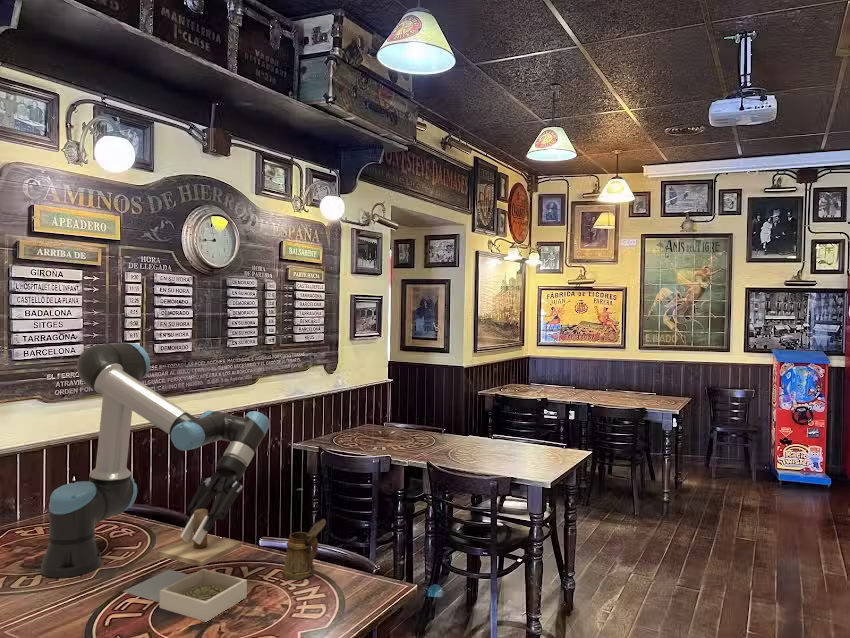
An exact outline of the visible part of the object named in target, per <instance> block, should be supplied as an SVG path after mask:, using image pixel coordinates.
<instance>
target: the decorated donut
mask: <svg viewBox="0 0 850 638" xmlns="http://www.w3.org/2000/svg"><path fill="white" fill-rule="evenodd" d="M223 591H225V590H224V589H223V588H222V587H220V586H218V585H202V586H197V587H193V588H191V589H188V590H187V591H186V592H184V593H183V595H185V596H188V597H192V598H196V599H199V600H203V601H207V600H209V599H211V598H212V597H214V596H216V595H218V594H219V593H221V592H223Z"/></svg>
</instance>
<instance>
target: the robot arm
mask: <svg viewBox="0 0 850 638" xmlns="http://www.w3.org/2000/svg"><path fill="white" fill-rule="evenodd" d="M76 369H77V370H76V371H77V373H78V376H79V377H80V378H79V379H81V381H82V382H83V383H84V384H85V385H86V386H87V387H89V388H90V389H91V390H93V391H94V392H96V393H98V394H102V402H101V411H100V412H101V414H100V422H99V430H98V431H99V433H98V441H97V450H96V451H97V452H96V461H95V468H94V469H92V470H91V471H90V472H89V478H88V481H86V480H85V481H84V480H83V481H75V482H74V483H73V482H69V483H67V484H64V485H61V486H59V487H57V488H56V489H54V490H53V491H52V493H51V494H50V497H49V505H48V545H47V547H46V550H45V553H44V555H43V559H42V561H41V562H40V563H41V565H40V573H41V574H42V576H44V577H46V578H47V577H48V578H55V579H59V578H60V579H63V578H72V577H76V576H81V575H85V574H88V573H90V572H92V571H94V570H96V569H97V568H99V567H100V565H101V563H102V555H101V554H102V553H101V552H100V549H99V546H98V543H97V541H96V534H95V533H96V532H95V531H96V524H97V523H99V522H102V521H104V520H106V519H109V518H111V517H113V516H118V515H120V514H122V513H123V512H125V511H127V510H129V508H131V507H132V506H133V505H134V503H135V501H136V498H137V494H138V486H137V483H136V482H135V479H134V478H133V477H132V472H131V471H130V470H129V469H128V467H127V466H128V456H129V455H128V454H129V446H130V435H131V425H132V416H133V412H134V413H136V414H137V415H138V416H140V417H142V418H143V419H145V420H146V421H148V422H149V423H151V424H152V425H153V426H155V427H157V428H159V429H160V430H162V431H163V432H165V433H166V434H168V435H170V440H171V443H172V444H173V446H174V447H175V448H176V449H178V450H179V451H182V452H183V451H190V450H195V449H198V448H200V447H203V446H205V445H208V444H212V443H214V442H217V441H225V442H229V444H228V446H227V448H226V449H225V451H224V452H223V456H221V458H220V459H219V461H218V463H217V465H215V472H214V473H213V474H212V475H211V476H210V477H208V478H206V477H205V476H202V477H201V478H200V483H199V485H198V487H197V489H196V492H195V493H194V495H193V497H192V499H191V501H190V502H189V504H188V506H187V510H188V511H189V513H191V514H190V515H189V517H188V519H187V520H186V523H185V527H184V528H183V531H182V532H181V533H180V536H179V537H180V538H181V539H182V541H183V540H185V541H186V542H188V541H189V539H190V537H192V536H194V537H193V540H194V541H195V542H196V543H197V544H201V542H202V540H203V538H204V536H205V535H206V533H207V531H208V532H210V531H211V530H212V528H213V526H214V524H215V522H216V521H217V520H224V519H225V517H226V516H227V515H228V513H229V511H230V509H231V508H232V505H233V504H234V503H235V501H236V499H237V498H238V497H239V495H240V494H241V493H242V492H243V491H244V489H245V488H244V487H243V485H242V484H241V483H240V482H239V481H240V480H241V479H242V477H243V476H244V474H245V472H246V470H247V467H248V466H249V464H250V463H251V462H252V459H253V457H254V456H255V453H256V452H257V450H258V447H259V446H260V444H261V443H262V441H263V439H265V437H266V434H267V432H268V430H269V428H270V426H271V425H270V423H271V422H270V420H269V418H268V417H267V416H266V415H265V414H264V413H261V412H259V411H256V410H253V411H248V412H247V413H246V415H245V416H244V417H243V416H238V415H232V414H229V413H225V412H221V411H218V410H216V411H215V410H206V411H204V413H203V414H201V415H200V417H199V418H197V417H195V416H194V415H192V414H190V413H189V412H187V411H186V410H184V409H183V408H182V407H180V406H178V405H176V404H175V403H173V402H172V401H170V400H169V399H167V398H166V397H164V396H163V395H161V394H159V392H157V391H155V390H153V389H152V388H150V387H149V386H147V385H145V384H144V383H143V382H141V380H142V379H143V378H145V377H146V375H148V374H149V372H150V369H151V358H150V356H149V353H147V351H146V350H145V348H143V347H142V345H140V344H137V343H133V342H132V343H131V342H118V343H107V344H96V345H92V346H90V347H87V348H86V349H85V350H84V351H83V352H82V353H81V355H80V356H79V357H78V360H77V365H76ZM214 498H215V499H214ZM213 499H214V502H213V504H212V507H211V509H210V512H208V516H205V518H204V519H203V521H202V523H201V525H200V526H199V528H198V530H197V532H196V533H195V535H194V511H195V510H197V509H206V508H207V507H208V506H209V504H210V503H211V501H212V500H213Z"/></svg>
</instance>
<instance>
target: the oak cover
mask: <svg viewBox="0 0 850 638" xmlns="http://www.w3.org/2000/svg"><path fill="white" fill-rule="evenodd" d="M208 513H209V510H208V509H206V508H205V509H197V510H195V511H194V532H193V535H191V537H190V539H189V541H188V542H186V541H185V540H183V539H182V540H181V541H179V542H177V543H174V544H172V545H170V546H167V547H165V548H162V549H160V550H158V551H157V557H160V558H164V559H169V560H173V561H178V562H181V563H184V564H185V563H186V564H190V565H194V566H199V567H203V566H205V565H207V564H209V563H211V562H213V561H216V560H217V559H219V558H222V557H223V556H225V555H227V554H229V553H231V552H233V551H235V550H238V549H239V548H241V547H242V542H241V541H237V540H232V539H228V538H223V537H219V536H213V535H208V531H207V533H206V535H205V536H204V538H203V540H202V542H201V544H197V543H196V542H195V541H194V540H193V537H194V535H195V533H196V532H197V530H198V528H199V526H200V525H201V523H202V521H203V519H204V518H205V516H208V517H209V515H208Z"/></svg>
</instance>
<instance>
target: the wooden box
mask: <svg viewBox="0 0 850 638" xmlns="http://www.w3.org/2000/svg"><path fill="white" fill-rule="evenodd" d="M189 575H190V576H188V577H186V578H184V579H182V580H180V581H178V582H176V583H174V584H172V585H170V586H168V587H166V588H164V589H162V590H160V603H159V609H163V610H166V611H168V612H172V613H175V614H179V615H183V616H185V617H188V618H192V619H195V620H199V621H201V622H207V621H209V620H211V619H212V618H214V617H215V616H217V615H218V614H220V613H221V612H223V611H225V610H227V609H228V608H230V607H232V606H234V605H235V604H237V603H238V602H240V601H241V600H243V599H245V598H246V599H247V595H248V594H247V593H248V592H247V590H248V588H247V586H248V585H247V584H248V580H247V579H244V578H240V577H238V576H233V575H229V574H226V573H221V572H218V571H214V570H210V569H206V568H202V569H200V570H198V571H196V572H194V573H191V574H189ZM202 585H218V586H220V587H222V588H223V589H224V590H225V591H223V592H221V593H219V594H218V595H216V596H214V597H212V598H211V599H209V600H207V601H203V600H199V599H196V598H192V597H188V596H185V595H183V593H184V592H186V591H187V590H188V589H191V588H193V587H197V586H202ZM246 599H245V600H246ZM243 601H244V600H243ZM240 603H241V602H240ZM238 604H239V603H238ZM238 604H237V605H238ZM235 606H236V605H235ZM235 606H234V607H235ZM232 608H233V607H232ZM230 609H231V608H230ZM227 611H228V610H227ZM225 612H226V611H225ZM220 615H221V614H220ZM217 617H218V616H217ZM214 619H215V618H214ZM212 620H213V619H212ZM212 620H211V621H212ZM209 622H210V621H209ZM207 623H208V622H207Z"/></svg>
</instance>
